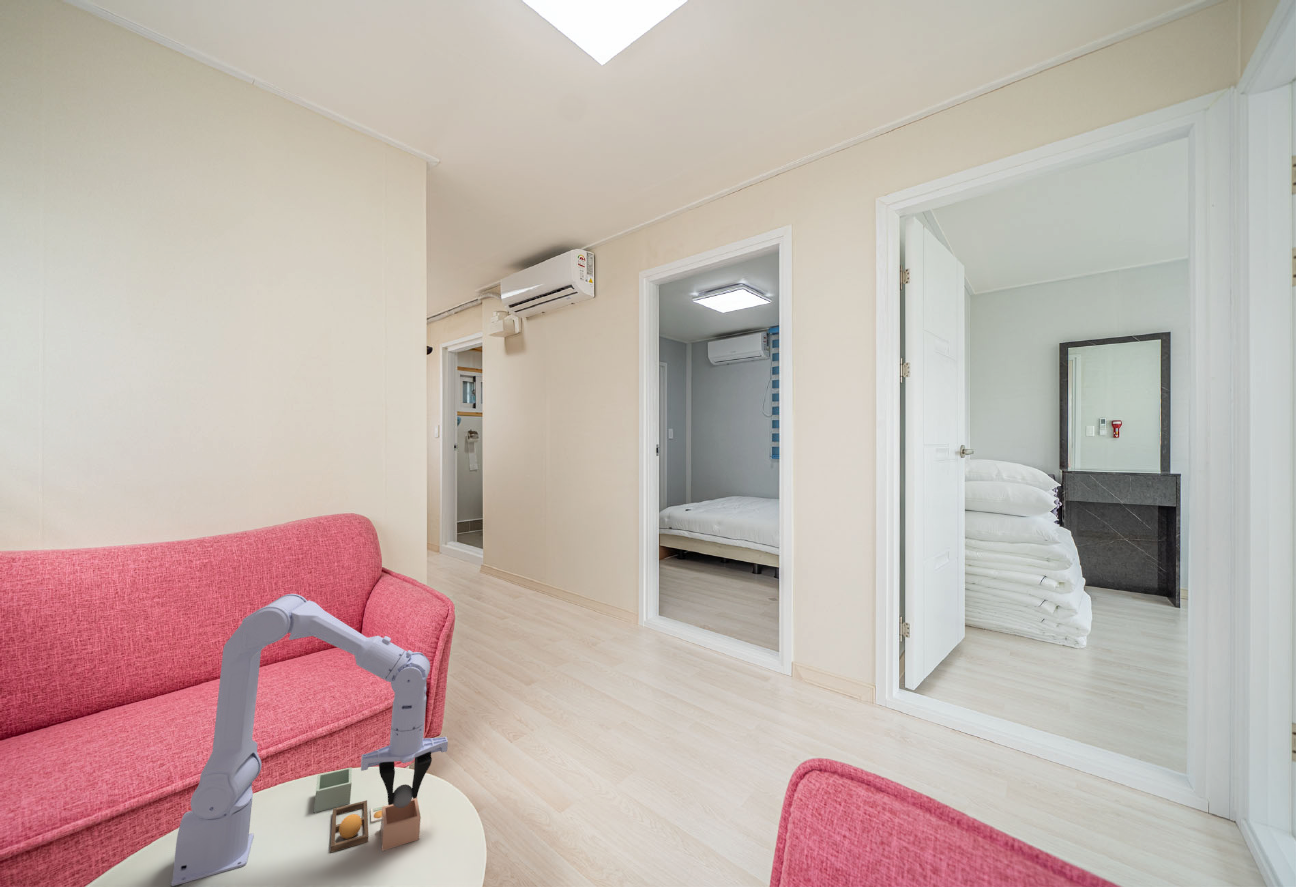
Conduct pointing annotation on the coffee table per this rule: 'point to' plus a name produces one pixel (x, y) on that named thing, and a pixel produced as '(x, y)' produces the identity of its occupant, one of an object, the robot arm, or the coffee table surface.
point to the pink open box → (400, 824)
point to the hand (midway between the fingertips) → (402, 798)
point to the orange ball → (350, 826)
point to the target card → (376, 813)
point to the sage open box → (333, 789)
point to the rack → (336, 827)
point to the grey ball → (402, 796)
